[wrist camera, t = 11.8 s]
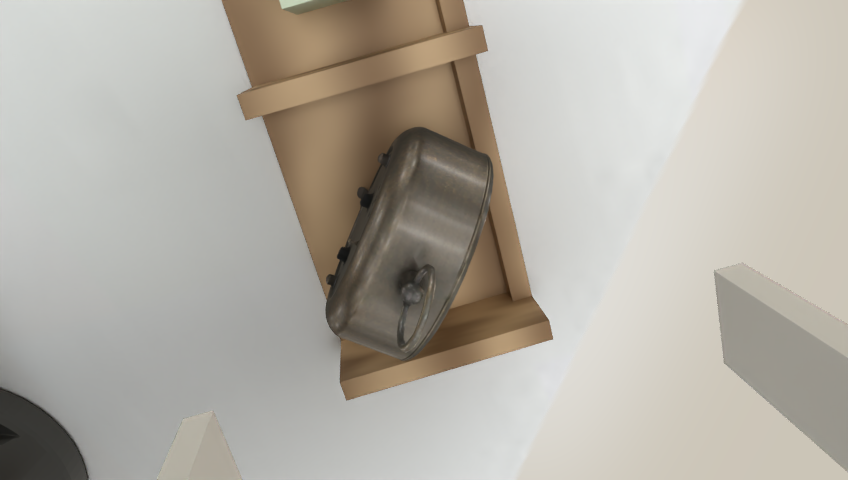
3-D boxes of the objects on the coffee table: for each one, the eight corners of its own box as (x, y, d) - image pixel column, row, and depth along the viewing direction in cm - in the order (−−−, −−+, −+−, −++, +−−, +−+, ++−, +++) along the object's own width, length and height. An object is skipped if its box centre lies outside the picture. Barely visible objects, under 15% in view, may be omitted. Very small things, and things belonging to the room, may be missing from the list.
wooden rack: (346, 348, 41) (346, 400, 36) (140, -244, 31) (91, -310, 25) (524, 296, 42) (553, 339, 36) (380, -310, 31) (388, -391, 25)
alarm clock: (396, 301, 39) (426, 471, 24) (314, 270, 38) (290, 428, 23) (473, 138, 37) (561, 212, 22) (387, 99, 36) (414, 148, 20)
